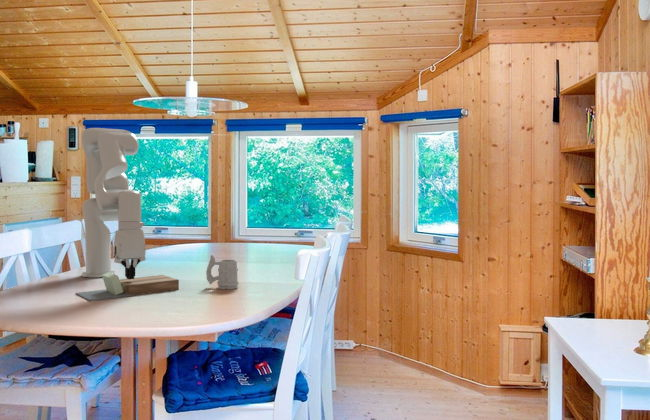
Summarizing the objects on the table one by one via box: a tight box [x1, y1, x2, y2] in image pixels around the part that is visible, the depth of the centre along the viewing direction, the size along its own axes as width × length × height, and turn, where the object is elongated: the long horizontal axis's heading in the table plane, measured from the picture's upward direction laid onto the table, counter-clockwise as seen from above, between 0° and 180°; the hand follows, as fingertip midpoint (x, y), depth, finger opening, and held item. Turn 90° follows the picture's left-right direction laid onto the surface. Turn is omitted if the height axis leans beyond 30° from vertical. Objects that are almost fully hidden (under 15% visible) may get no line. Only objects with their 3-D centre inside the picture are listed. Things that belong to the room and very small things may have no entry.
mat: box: [75, 288, 134, 302], centre depth 190 cm, size 15×14×1 cm
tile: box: [101, 272, 123, 295], centre depth 192 cm, size 9×6×2 cm
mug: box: [205, 254, 240, 290], centre depth 205 cm, size 8×12×12 cm, turn 91°
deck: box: [119, 274, 180, 296], centre depth 200 cm, size 13×18×4 cm
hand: (130, 278), depth 196 cm, fingers closed
